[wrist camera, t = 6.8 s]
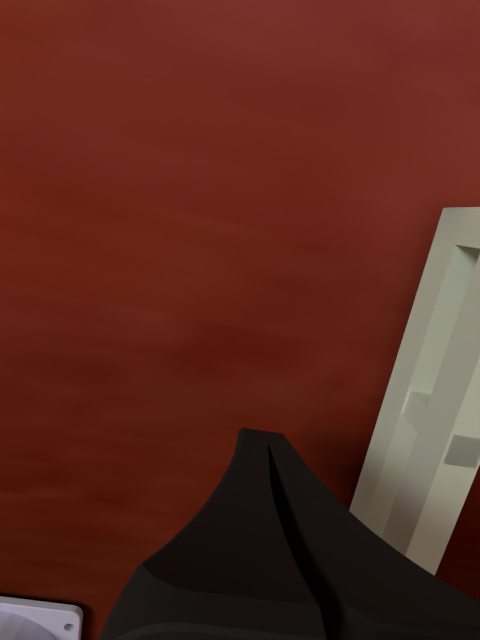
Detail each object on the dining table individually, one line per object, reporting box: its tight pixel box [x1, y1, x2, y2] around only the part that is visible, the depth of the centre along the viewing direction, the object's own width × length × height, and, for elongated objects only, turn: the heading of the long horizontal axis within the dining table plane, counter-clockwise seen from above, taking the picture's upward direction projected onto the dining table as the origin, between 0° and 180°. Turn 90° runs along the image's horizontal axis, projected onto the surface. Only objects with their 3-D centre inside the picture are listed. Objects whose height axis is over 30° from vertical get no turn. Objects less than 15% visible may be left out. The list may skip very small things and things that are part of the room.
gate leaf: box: [349, 207, 480, 576], centre depth 14 cm, size 14×1×4 cm, turn 170°
